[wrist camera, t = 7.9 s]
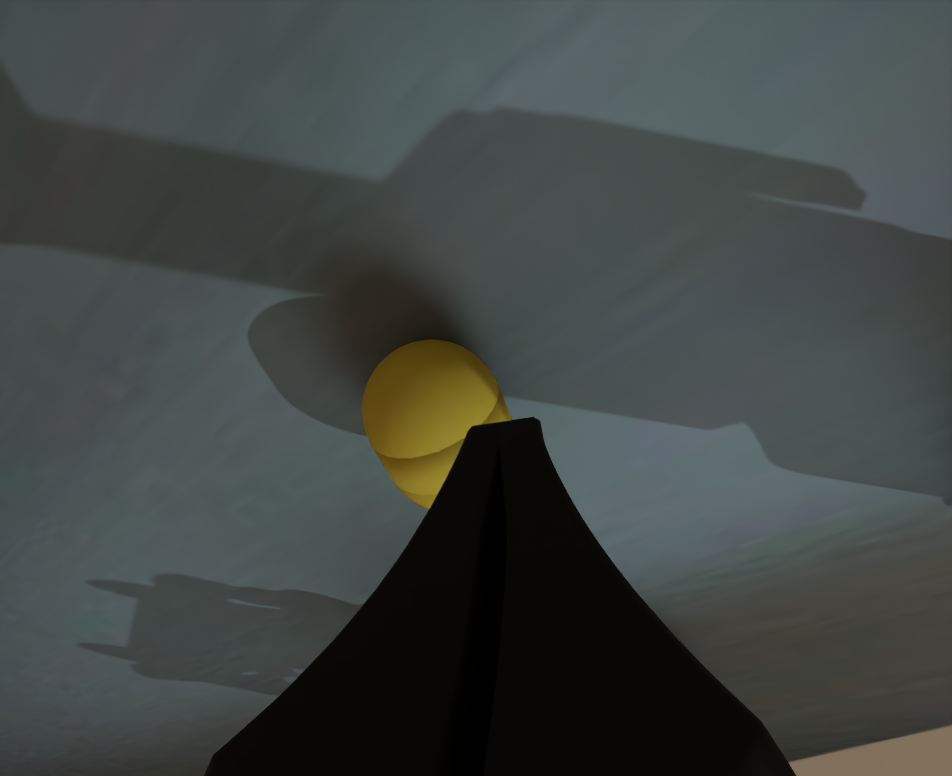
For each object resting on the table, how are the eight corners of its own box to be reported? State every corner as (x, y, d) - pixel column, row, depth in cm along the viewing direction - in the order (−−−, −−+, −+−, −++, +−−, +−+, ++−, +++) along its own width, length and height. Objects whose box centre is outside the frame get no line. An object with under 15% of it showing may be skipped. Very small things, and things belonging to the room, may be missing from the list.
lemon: (531, 434, 22) (536, 525, 18) (423, 461, 23) (407, 552, 19) (477, 298, 19) (469, 373, 15) (354, 336, 20) (319, 416, 16)
